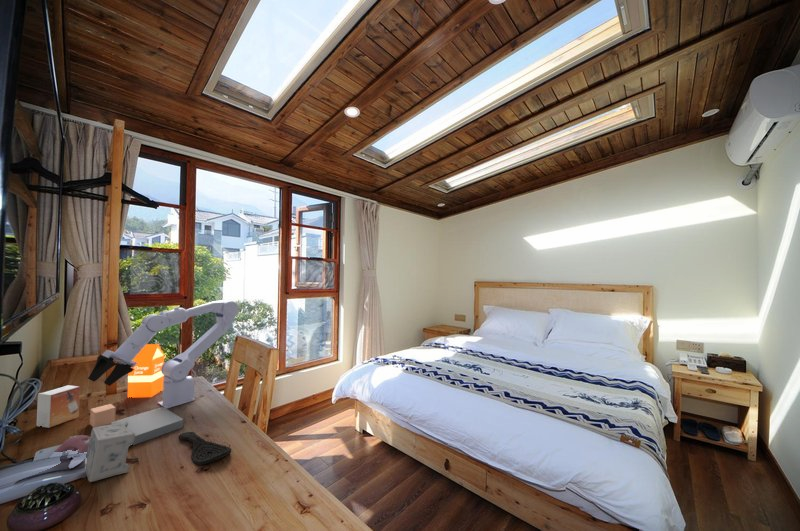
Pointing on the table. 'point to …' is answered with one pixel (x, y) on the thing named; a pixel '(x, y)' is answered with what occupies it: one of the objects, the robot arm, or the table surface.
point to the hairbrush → (204, 449)
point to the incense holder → (108, 451)
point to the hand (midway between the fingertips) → (99, 382)
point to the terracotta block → (102, 415)
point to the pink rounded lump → (75, 444)
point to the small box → (58, 406)
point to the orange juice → (146, 372)
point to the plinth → (152, 424)
